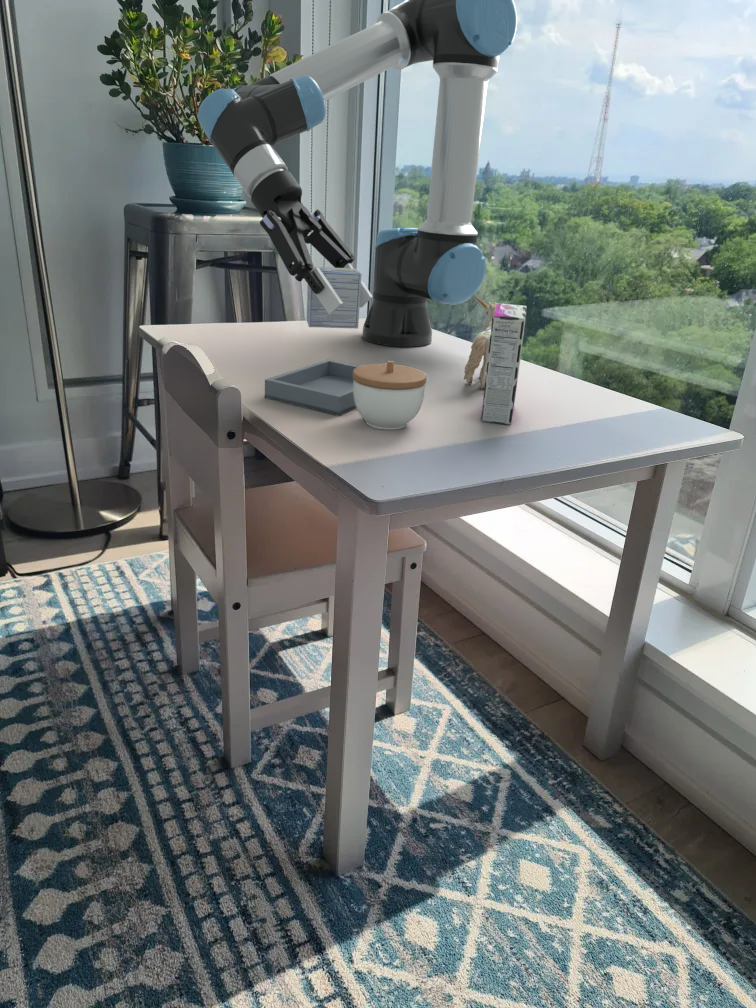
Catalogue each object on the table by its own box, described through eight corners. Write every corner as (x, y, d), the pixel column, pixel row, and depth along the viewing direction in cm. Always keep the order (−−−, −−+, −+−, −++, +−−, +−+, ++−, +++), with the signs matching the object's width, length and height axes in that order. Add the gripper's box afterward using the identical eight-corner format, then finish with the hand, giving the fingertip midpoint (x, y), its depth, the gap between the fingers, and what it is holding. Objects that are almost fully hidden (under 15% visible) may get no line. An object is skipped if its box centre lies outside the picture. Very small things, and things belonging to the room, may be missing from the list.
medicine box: (354, 323, 124) (357, 268, 121) (358, 329, 120) (362, 272, 117) (305, 322, 123) (307, 265, 119) (308, 327, 119) (310, 270, 115)
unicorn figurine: (504, 369, 149) (514, 299, 144) (503, 397, 131) (514, 318, 126) (467, 366, 150) (475, 296, 144) (461, 392, 132) (470, 314, 127)
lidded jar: (399, 440, 108) (404, 375, 104) (336, 424, 112) (338, 361, 109) (434, 422, 116) (440, 361, 112) (374, 408, 121) (378, 349, 117)
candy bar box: (483, 402, 128) (496, 302, 121) (514, 405, 127) (528, 305, 120) (478, 422, 118) (491, 314, 111) (511, 426, 117) (526, 317, 110)
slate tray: (327, 375, 136) (327, 359, 135) (395, 391, 130) (397, 373, 129) (264, 397, 122) (264, 379, 121) (338, 416, 116) (339, 396, 115)
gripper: (294, 201, 129) (370, 312, 129) (210, 202, 112) (297, 329, 112) (322, 169, 125) (400, 284, 125) (239, 165, 108) (329, 297, 108)
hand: (351, 305), depth 118 cm, fingers closed on medicine box, 8 cm apart
